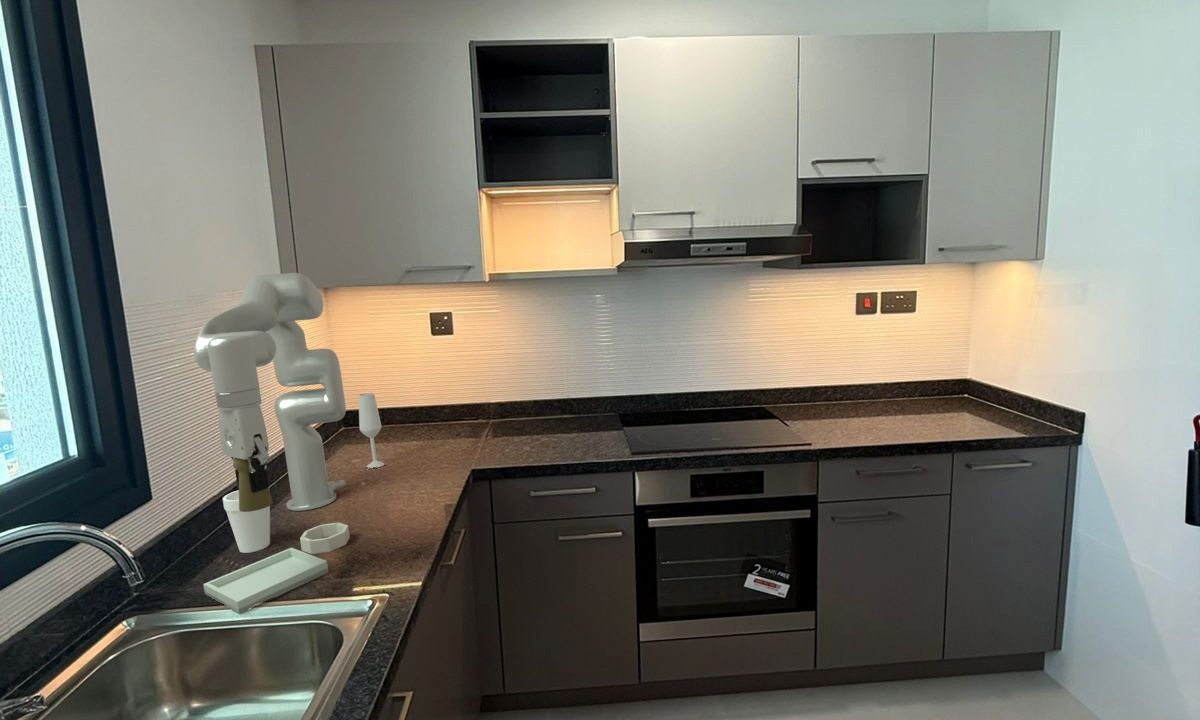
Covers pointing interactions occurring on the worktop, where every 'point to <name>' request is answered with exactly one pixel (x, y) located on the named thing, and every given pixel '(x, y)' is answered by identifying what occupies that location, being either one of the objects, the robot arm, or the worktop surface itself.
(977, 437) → the worktop surface
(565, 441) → the worktop surface
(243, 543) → the foam cup
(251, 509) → the cork
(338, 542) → the collar
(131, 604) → the worktop surface
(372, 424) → the champagne flute
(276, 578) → the tray
